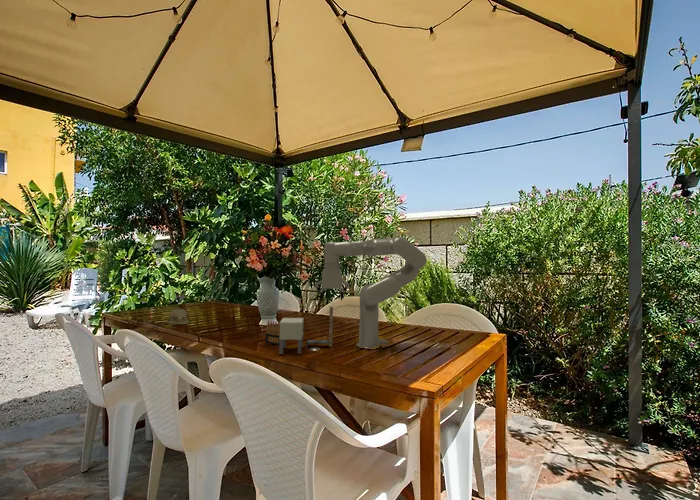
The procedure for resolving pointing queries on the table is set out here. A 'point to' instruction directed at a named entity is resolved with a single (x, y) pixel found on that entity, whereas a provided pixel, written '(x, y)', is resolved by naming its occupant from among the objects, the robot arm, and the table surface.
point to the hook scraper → (329, 333)
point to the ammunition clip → (273, 333)
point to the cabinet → (291, 332)
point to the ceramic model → (178, 317)
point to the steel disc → (314, 349)
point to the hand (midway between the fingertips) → (331, 300)
